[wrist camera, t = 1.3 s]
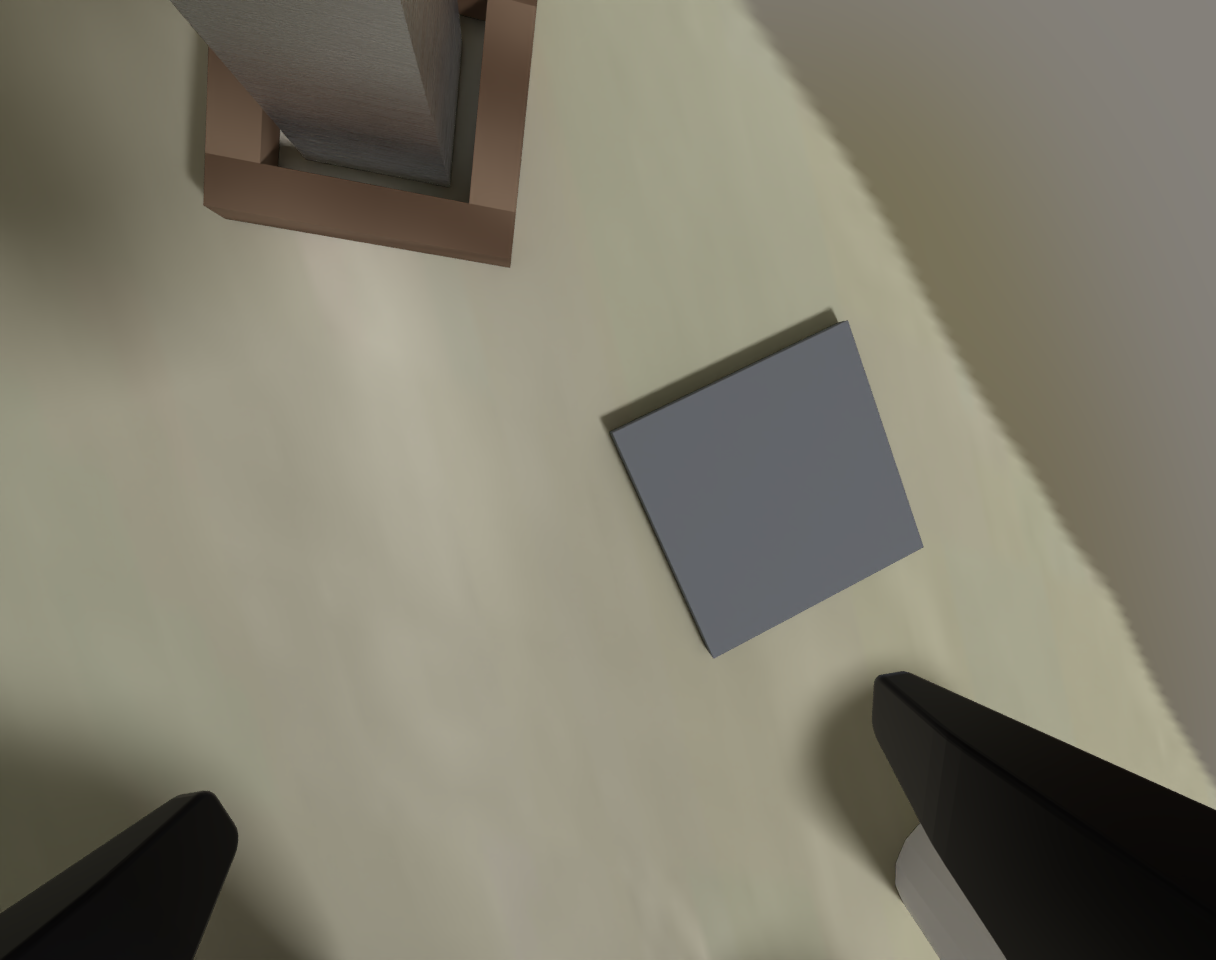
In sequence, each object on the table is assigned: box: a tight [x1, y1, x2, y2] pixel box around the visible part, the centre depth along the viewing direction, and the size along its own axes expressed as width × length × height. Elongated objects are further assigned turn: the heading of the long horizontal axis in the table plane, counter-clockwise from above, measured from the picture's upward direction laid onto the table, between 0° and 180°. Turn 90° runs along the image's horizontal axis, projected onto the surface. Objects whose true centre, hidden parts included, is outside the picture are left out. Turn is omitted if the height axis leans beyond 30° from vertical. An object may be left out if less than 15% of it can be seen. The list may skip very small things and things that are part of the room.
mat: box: [610, 320, 923, 658], centre depth 20 cm, size 9×9×1 cm
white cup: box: [895, 823, 1007, 960], centre depth 21 cm, size 7×7×7 cm
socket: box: [203, 0, 537, 268], centre depth 16 cm, size 8×8×1 cm
